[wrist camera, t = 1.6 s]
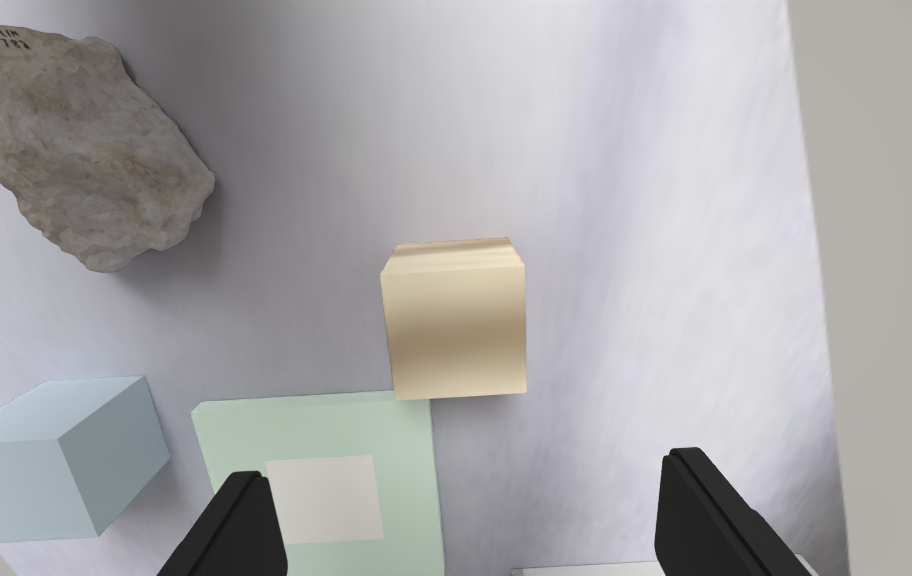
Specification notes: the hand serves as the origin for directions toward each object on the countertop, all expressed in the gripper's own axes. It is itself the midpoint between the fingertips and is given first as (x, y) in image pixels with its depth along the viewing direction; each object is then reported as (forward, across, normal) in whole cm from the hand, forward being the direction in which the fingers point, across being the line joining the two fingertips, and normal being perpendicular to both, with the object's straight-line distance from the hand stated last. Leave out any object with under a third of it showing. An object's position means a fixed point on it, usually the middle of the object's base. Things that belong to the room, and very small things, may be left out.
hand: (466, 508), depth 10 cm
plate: (+15, +9, +12) cm, 21 cm away
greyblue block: (+15, +22, +6) cm, 27 cm away
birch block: (+15, 0, -1) cm, 15 cm away
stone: (+15, +16, -9) cm, 24 cm away
